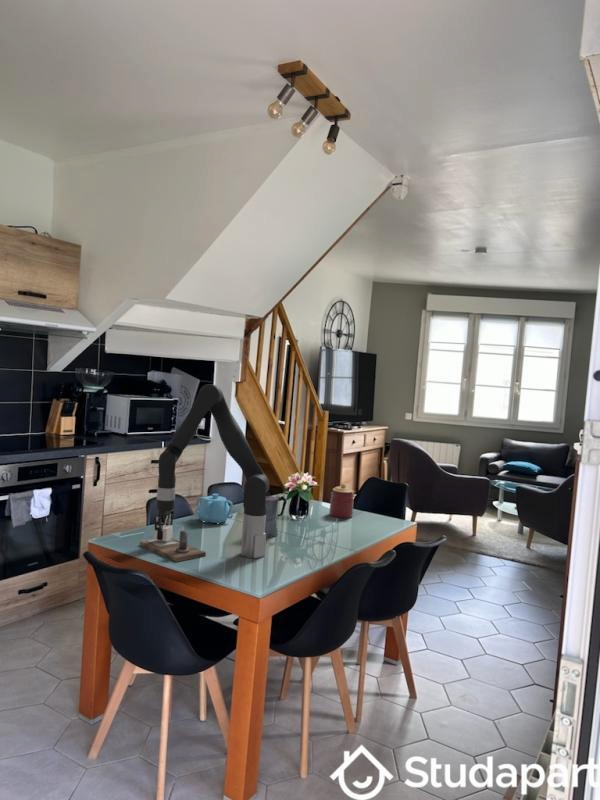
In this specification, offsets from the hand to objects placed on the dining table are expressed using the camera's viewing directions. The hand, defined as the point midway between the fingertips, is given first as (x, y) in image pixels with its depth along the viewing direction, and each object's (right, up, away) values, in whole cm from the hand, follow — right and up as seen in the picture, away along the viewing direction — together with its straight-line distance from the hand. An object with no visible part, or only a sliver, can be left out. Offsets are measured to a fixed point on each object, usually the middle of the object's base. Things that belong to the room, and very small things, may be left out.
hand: (162, 537), depth 253 cm
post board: (+5, -4, -5) cm, 8 cm away
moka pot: (+42, -6, +30) cm, 52 cm away
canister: (+80, -6, +80) cm, 113 cm away
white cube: (0, 0, 0) cm, 0 cm away
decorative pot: (+14, -3, +47) cm, 49 cm away
